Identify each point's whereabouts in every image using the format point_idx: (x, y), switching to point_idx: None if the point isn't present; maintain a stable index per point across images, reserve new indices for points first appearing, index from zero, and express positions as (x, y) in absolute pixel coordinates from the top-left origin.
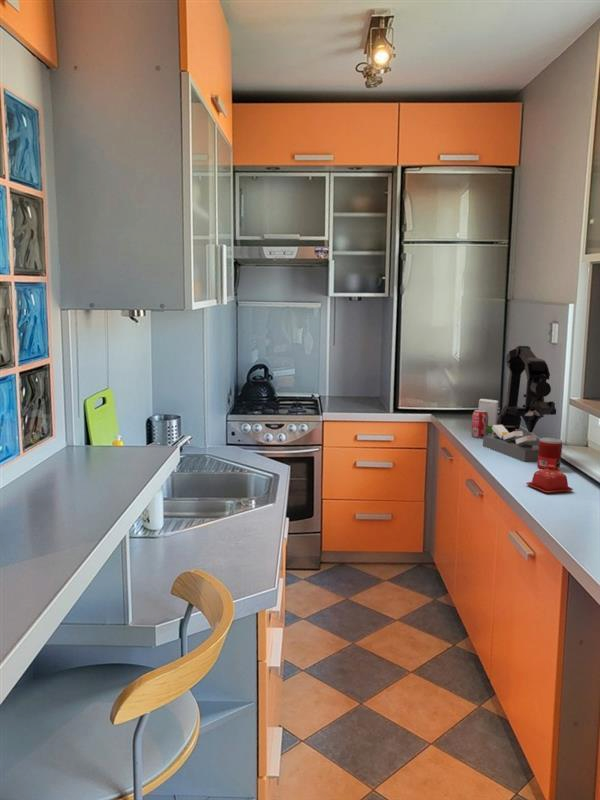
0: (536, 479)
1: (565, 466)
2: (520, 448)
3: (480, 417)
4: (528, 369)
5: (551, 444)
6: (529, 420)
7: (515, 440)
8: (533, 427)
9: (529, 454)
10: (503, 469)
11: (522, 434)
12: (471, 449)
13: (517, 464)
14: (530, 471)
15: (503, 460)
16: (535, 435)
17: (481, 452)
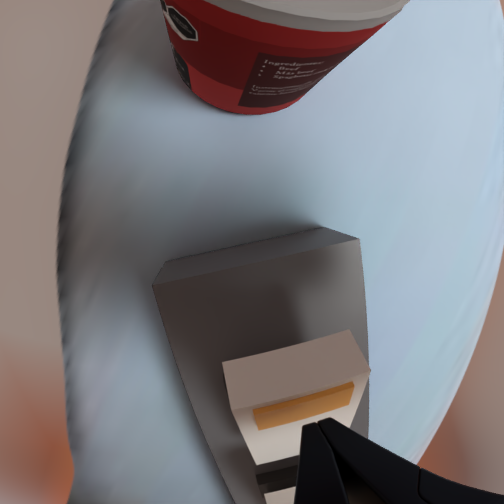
0: None
1: (92, 109)
2: (359, 311)
3: None
4: None
5: None
6: (500, 494)
7: (291, 477)
8: (317, 469)
9: (303, 243)
10: (477, 98)
11: (272, 500)
12: (422, 444)
13: (392, 171)
14: (380, 30)
15: (420, 266)
16: (235, 407)
17: (420, 410)
